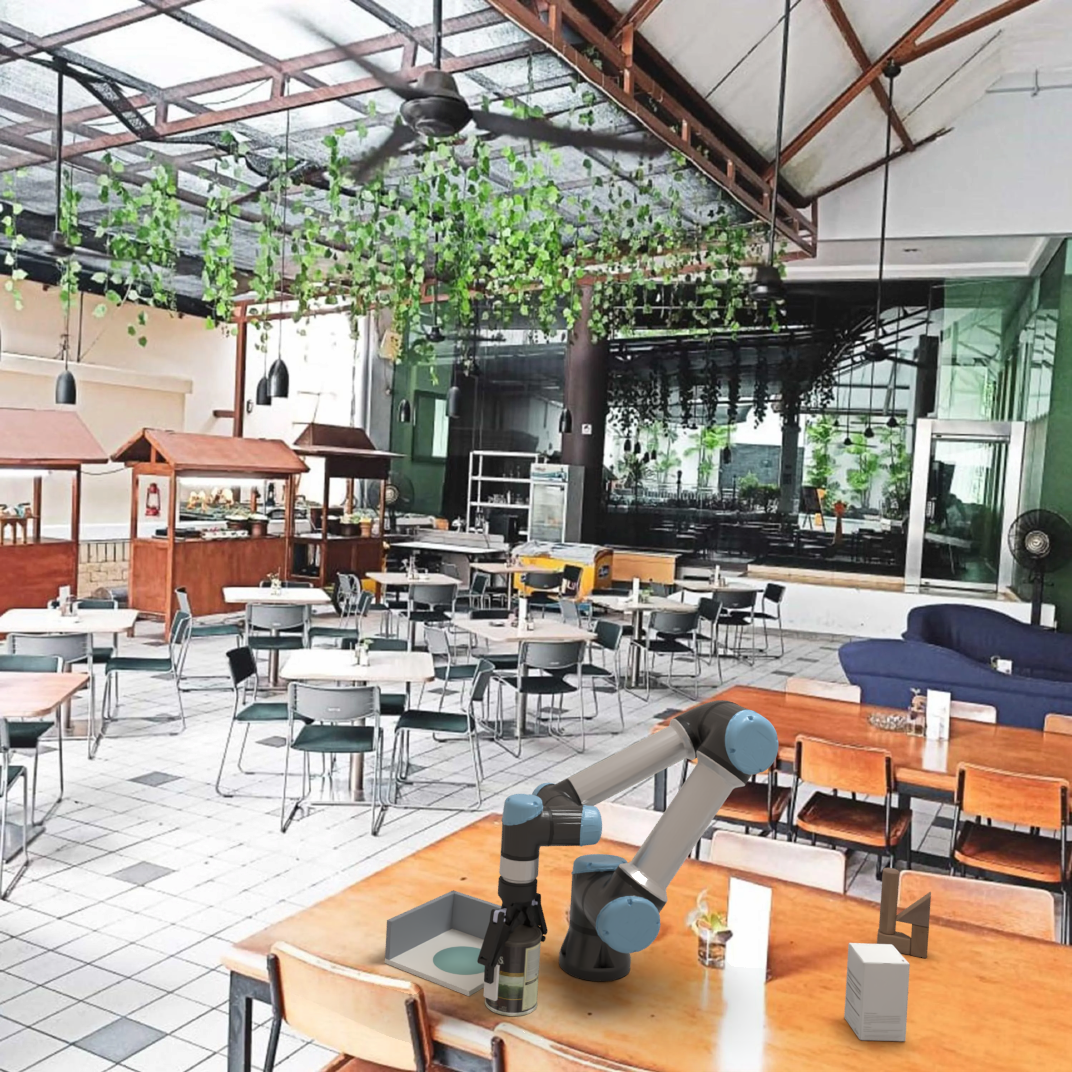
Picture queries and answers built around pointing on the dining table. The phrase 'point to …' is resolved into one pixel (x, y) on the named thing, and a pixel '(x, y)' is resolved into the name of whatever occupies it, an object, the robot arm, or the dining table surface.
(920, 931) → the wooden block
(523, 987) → the coffee can
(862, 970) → the supplement box
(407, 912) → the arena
